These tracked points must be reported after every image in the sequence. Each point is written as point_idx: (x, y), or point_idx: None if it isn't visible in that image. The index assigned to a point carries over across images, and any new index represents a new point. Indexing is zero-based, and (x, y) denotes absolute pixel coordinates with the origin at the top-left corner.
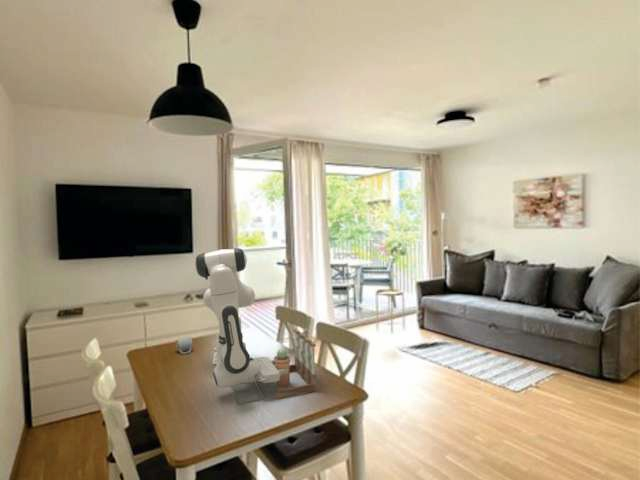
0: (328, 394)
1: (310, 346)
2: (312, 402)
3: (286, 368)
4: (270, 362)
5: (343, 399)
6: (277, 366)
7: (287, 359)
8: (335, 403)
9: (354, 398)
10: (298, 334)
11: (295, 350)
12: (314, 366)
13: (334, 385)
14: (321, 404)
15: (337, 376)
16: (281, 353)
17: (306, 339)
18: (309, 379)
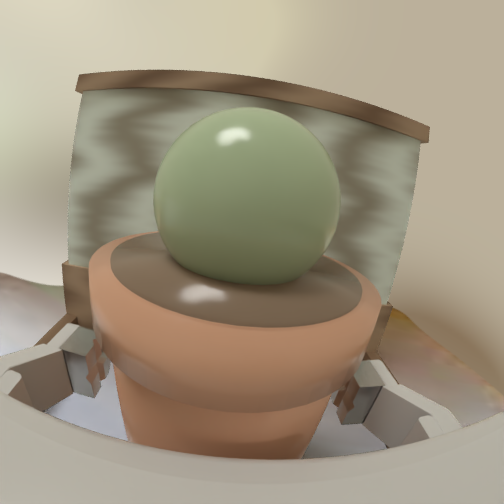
0: (390, 352)
1: (384, 140)
2: (456, 399)
3: (366, 361)
4: (83, 454)
5: (419, 334)
6: (300, 426)
7: (330, 260)
8: (445, 352)
9: (409, 319)
10: (161, 82)
11: (69, 223)
12: (395, 258)
13: None
14: (461, 379)
15: None
16: (335, 169)
17: (334, 95)
18: None
